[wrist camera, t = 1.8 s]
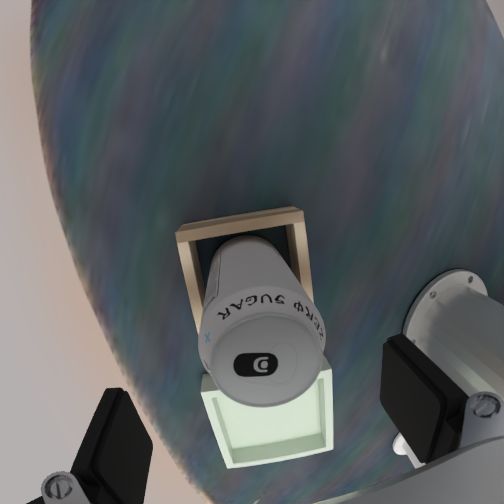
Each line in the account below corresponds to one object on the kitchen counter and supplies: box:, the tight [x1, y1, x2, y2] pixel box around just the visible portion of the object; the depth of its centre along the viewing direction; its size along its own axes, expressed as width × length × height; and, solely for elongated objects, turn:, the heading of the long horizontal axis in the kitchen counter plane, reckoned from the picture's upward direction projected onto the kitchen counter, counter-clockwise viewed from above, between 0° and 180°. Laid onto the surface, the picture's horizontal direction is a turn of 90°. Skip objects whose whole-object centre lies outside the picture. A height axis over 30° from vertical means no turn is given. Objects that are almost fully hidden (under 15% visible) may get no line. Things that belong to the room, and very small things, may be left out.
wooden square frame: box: [175, 206, 314, 335], centre depth 25 cm, size 9×9×4 cm
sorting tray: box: [201, 354, 333, 469], centre depth 30 cm, size 12×12×3 cm
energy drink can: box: [198, 235, 326, 408], centre depth 20 cm, size 6×6×15 cm
